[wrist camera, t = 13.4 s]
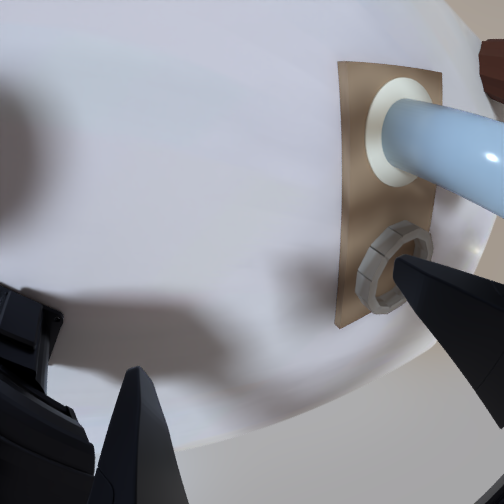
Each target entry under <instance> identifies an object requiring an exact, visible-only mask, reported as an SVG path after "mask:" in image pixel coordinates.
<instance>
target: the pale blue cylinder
mask: <svg viewBox="0 0 504 504" xmlns="http://www.w3.org/2000/svg"><path fill="white" fill-rule="evenodd" d="M381 141H382V149H383V152H384V155H385V157H386V159H387V161H388V162H389V163H390V164H391V165H392V166H393V167H395V168H398V169H400V170H403V171H405V172H408V173H410V174H413V175H415V176H417V177H420V178H422V179H424V180H427V181H429V182H431V183H433V184H436V185H438V186H440V187H442V188H444V189H447V190H449V191H451V192H453V193H455V194H457V195H459V196H461V197H463V198H465V199H467V200H469V201H471V202H473V203H475V204H477V205H479V206H481V207H483V208H485V209H487V210H489V211H491V212H492V213H494V214H496V215H498V216H500V217H502V218H503V219H504V123H503V122H500V121H496V120H493V119H490V118H487V117H484V116H480V115H477V114H473V113H470V112H466V111H463V110H459V109H455V108H451V107H447V106H442V105H438V104H433V103H429V102H424V101H419V100H414V99H408V98H403V99H400V100H398V101H396V102H395V103H394V104H393V105H392V106H391V107H390V108H389V110H388V112H387V114H386V116H385V119H384V122H383V126H382V133H381Z"/></svg>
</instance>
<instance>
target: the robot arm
mask: <svg viewBox="0 0 504 504" xmlns="http://www.w3.org/2000/svg"><path fill="white" fill-rule="evenodd" d="M393 280H394V282H395V284H396V285H397V286H398V288H399V289H400V291H401V292H402V294H403V295H404V297H405V298H406V300H407V301H408V303H409V304H410V306H411V307H412V309H413V310H414V311H415V313H416V314H417V315H418V317H419V318H420V319H421V320H422V322H423V323H424V324H425V325H426V327H427V328H428V329H429V330H430V332H431V333H432V334H433V335H434V337H435V338H436V339H437V340H438V342H439V343H440V344H441V346H442V347H443V348H444V350H446V352H447V353H448V355H449V356H450V357H451V359H452V360H453V361H454V363H455V364H456V365H457V367H458V368H459V369H460V371H461V372H462V374H463V375H464V376H465V378H466V379H467V380H468V382H469V383H470V385H471V386H472V388H473V389H474V390H475V392H476V394H477V395H478V396H479V398H480V399H481V400H482V402H483V403H484V405H485V407H486V408H487V409H488V411H489V413H490V414H491V416H492V417H493V419H494V420H495V422H496V423H497V425H498V426H499V428H500V429H502V428H503V427H504V284H501V283H498V282H495V281H490V280H489V279H485V278H482V277H479V276H476V275H473V274H470V273H467V272H464V271H460V270H457V269H454V268H451V267H448V266H444V265H441V264H438V263H434V262H431V261H428V260H424V259H421V258H418V257H414V256H411V255H407V254H403V255H401V256H399V257H397V258H396V259H395V261H394V268H393ZM55 317H58V318H60V319H56V318H55ZM63 318H64V316H63V314H62V313H61V312H60V311H57V310H55V309H52V308H50V307H47V306H45V305H43V304H40V303H38V302H36V301H33V300H31V299H29V298H27V297H24V296H22V295H20V294H18V293H16V292H13V291H11V290H9V289H7V288H5V287H3V286H1V285H0V504H189V503H188V499H187V497H186V493H185V490H184V486H183V483H182V480H181V476H180V472H179V469H178V465H177V461H176V458H175V454H174V450H173V446H172V442H171V438H170V433H169V430H168V426H167V423H166V420H165V417H164V414H163V412H162V409H161V406H160V403H159V400H158V397H157V393H156V390H155V387H154V384H153V382H152V380H151V379H150V378H149V376H148V375H147V374H146V373H145V371H144V370H143V369H142V368H141V367H140V366H136V367H133V368H130V369H128V370H127V371H126V374H125V377H124V380H123V383H122V386H121V389H120V392H119V395H118V398H117V401H116V405H115V408H114V411H113V414H112V417H111V421H110V424H109V427H108V431H107V434H106V437H105V441H104V444H103V448H102V451H101V455H100V459H99V462H98V468H97V470H96V474H95V476H94V471H95V452H94V446H93V444H92V443H90V442H89V440H88V438H87V435H86V433H85V430H84V428H83V427H82V426H81V425H80V424H79V422H78V420H77V418H76V415H75V413H74V410H73V409H72V408H70V407H68V406H64V405H62V404H60V403H59V402H57V401H55V400H53V399H52V398H50V397H49V396H47V373H48V361H49V359H50V356H51V353H52V350H53V347H54V344H55V342H56V339H57V336H58V334H59V331H60V329H61V326H62V323H63ZM474 504H504V474H503V475H502V476H501V478H500V479H499V480H498V481H497V482H496V483H495V484H494V485H493V486H492V487H491V488H490V489H489V490H488V491H487V492H486V493H485V494H484V495H483V496H482V497H481V498H480V499H479V500H478V501H477V502H475V503H474Z"/></svg>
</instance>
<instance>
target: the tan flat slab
mask: <svg viewBox="0 0 504 504" xmlns="http://www.w3.org/2000/svg"><path fill="white" fill-rule="evenodd" d="M337 62H338V74H339V89H340V106H341V131H342V217H341V243H340V262H339V277H338V290H337V302H336V313H335V323H334V324H335V325H336V326H337V327H338V328H339V329H341V328H343V327H345V326H347V325H349V324H351V323H352V322H354V321H356V320H358V319H360V318H362V317H364V316H365V315H367V314H369V313H371V312H372V313H373V314H388V313H390V312H392V311H393V310H395V309H397V308H398V307H400V306H401V305H403V304H404V303H405V302H406V301H407V300H406V298H405V297H404V295H403V294H402V292H401V291H400V289H399V288H398V286H397V285H396V284H395V282H394V280H393V268H394V261H395V259H396V258H397V257H399V256H401V255H403V254H407V255H411V256H414V257H418V258H421V259H424V260H428V261H431V257H432V253H433V243H432V238H431V234H430V233H429V229H430V224H431V218H432V212H433V206H434V199H435V192H436V184H433V183H431V182H429V181H427V180H424V179H422V178H420V177H417V176H415V175H413V174H410V173H408V172H405V171H403V170H400V169H398V168H395V167H393V166H392V165H391V164H390V163H389V162H388V161H387V159H386V157H385V155H384V152H383V149H382V141H381V133H382V126H383V122H384V119H385V116H386V114H387V112H388V110H389V108H390V107H391V106H392V105H393V104H394V103H395V102H396V101H398V100H400V99H403V98H408V99H414V100H419V101H424V102H429V103H433V104H438V105H442V73H441V72H435V71H430V70H424V69H418V68H411V67H404V66H396V65H388V64H378V63H366V62H350V61H337Z"/></svg>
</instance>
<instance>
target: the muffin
mask: <svg viewBox="0 0 504 504" xmlns="http://www.w3.org/2000/svg"><path fill="white" fill-rule="evenodd" d="M479 65H480V73H479V74H480V77H481V80H482V84H483V88H484V92H486V93H487V94H488V95H489V96H490V98H491V99H494V100H496V101H498V102H500V103H502V104H504V39H488V40H487V41H482V44H481V49H480V52H479Z"/></svg>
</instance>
